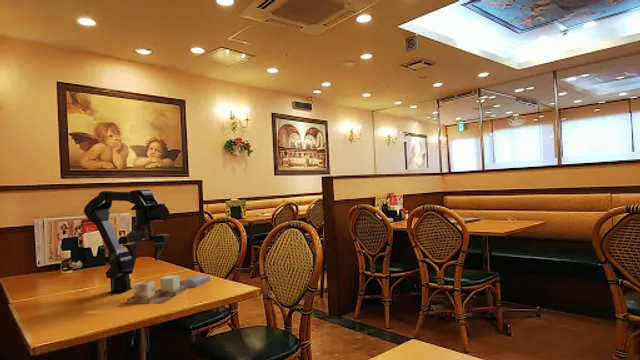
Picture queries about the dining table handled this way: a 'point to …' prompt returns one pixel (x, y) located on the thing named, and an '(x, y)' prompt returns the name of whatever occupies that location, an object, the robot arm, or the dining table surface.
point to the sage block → (170, 283)
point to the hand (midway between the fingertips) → (145, 261)
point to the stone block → (195, 281)
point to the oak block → (144, 289)
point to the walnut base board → (157, 297)
